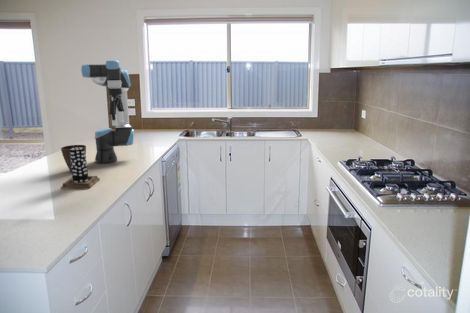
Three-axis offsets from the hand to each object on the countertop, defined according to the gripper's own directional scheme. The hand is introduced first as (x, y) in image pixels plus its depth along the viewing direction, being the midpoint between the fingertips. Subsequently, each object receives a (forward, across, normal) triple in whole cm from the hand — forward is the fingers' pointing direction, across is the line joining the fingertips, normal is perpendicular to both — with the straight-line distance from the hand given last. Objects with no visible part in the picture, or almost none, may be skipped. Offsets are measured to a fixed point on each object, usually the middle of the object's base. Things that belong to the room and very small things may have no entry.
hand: (118, 123), depth 213 cm
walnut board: (+33, -15, +20) cm, 41 cm away
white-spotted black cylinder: (+32, -15, +20) cm, 40 cm away
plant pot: (+33, +14, +34) cm, 49 cm away
